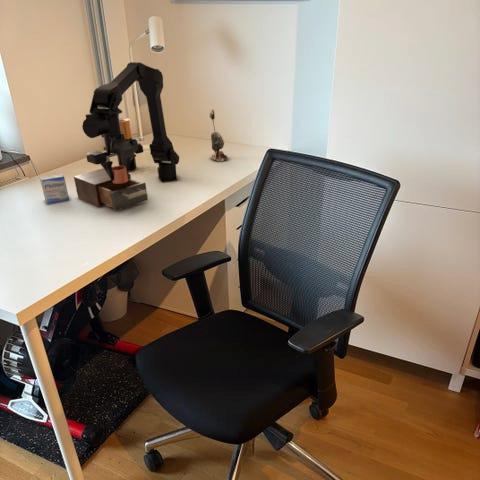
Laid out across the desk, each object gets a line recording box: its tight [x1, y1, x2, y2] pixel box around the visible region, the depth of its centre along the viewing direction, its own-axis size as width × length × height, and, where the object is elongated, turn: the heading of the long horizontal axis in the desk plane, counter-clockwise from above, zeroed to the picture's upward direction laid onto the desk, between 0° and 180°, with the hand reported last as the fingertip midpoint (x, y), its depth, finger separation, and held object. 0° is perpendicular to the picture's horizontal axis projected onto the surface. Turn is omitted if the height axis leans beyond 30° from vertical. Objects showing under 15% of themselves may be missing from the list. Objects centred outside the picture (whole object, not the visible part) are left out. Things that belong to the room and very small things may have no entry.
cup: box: [112, 165, 128, 184], centre depth 170 cm, size 5×5×4 cm
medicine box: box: [39, 173, 70, 205], centre depth 179 cm, size 8×4×9 cm, turn 117°
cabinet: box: [73, 167, 132, 208], centre depth 180 cm, size 14×15×8 cm
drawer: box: [97, 178, 149, 212], centre depth 173 cm, size 17×13×6 cm
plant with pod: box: [209, 108, 229, 162], centre depth 212 cm, size 8×11×20 cm
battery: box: [116, 117, 138, 172], centre depth 204 cm, size 7×7×20 cm
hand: (119, 178), depth 171 cm, fingers closed on cup, 5 cm apart
